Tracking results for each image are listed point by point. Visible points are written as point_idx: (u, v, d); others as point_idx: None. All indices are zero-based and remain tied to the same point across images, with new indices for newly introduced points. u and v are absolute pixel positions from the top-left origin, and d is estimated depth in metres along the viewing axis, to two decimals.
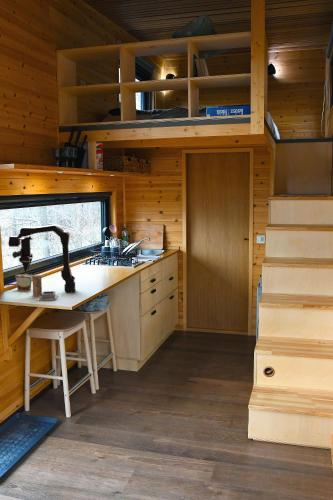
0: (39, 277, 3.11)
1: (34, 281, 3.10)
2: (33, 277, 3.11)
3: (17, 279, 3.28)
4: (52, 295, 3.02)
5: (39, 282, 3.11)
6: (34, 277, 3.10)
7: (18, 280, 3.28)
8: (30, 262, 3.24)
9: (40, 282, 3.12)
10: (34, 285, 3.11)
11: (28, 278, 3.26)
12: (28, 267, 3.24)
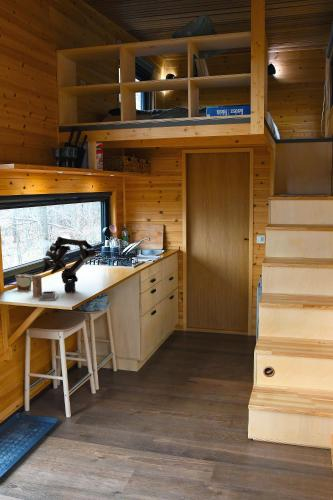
0: (39, 277, 3.11)
1: (34, 281, 3.10)
2: (33, 277, 3.11)
3: (17, 279, 3.28)
4: (52, 295, 3.02)
5: (39, 282, 3.11)
6: (34, 277, 3.10)
7: (18, 280, 3.28)
8: (48, 268, 3.23)
9: (40, 282, 3.12)
10: (34, 285, 3.11)
11: (28, 278, 3.26)
12: (44, 271, 3.21)
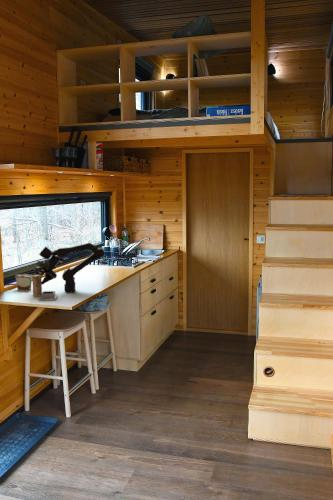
0: (39, 277, 3.11)
1: (34, 281, 3.10)
2: (33, 277, 3.11)
3: (17, 279, 3.28)
4: (52, 295, 3.02)
5: (39, 282, 3.11)
6: (34, 277, 3.10)
7: (18, 280, 3.28)
8: None
9: (40, 282, 3.12)
10: (34, 285, 3.11)
11: (28, 278, 3.26)
12: None
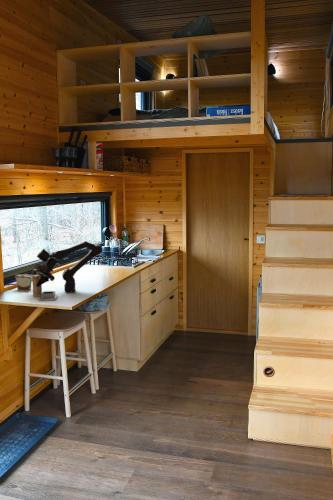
0: (39, 277, 3.11)
1: (34, 281, 3.10)
2: (33, 277, 3.11)
3: (17, 279, 3.28)
4: (52, 295, 3.02)
5: None
6: (34, 277, 3.10)
7: (18, 280, 3.28)
8: None
9: None
10: (34, 285, 3.11)
11: (28, 278, 3.26)
12: None
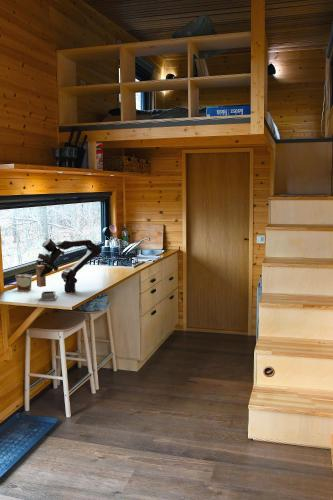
0: (43, 267, 3.07)
1: (38, 271, 3.06)
2: (37, 267, 3.07)
3: (17, 279, 3.28)
4: (52, 295, 3.02)
5: None
6: (38, 267, 3.06)
7: (18, 280, 3.28)
8: None
9: None
10: (37, 276, 3.07)
11: (28, 278, 3.26)
12: None
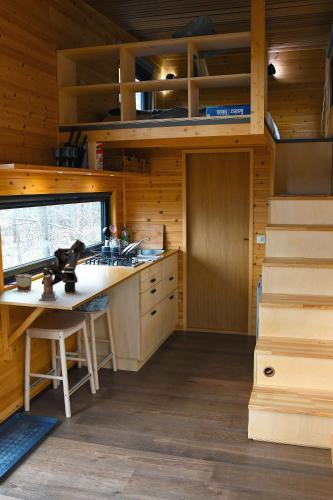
0: (50, 278, 3.03)
1: (45, 282, 3.02)
2: (44, 278, 3.03)
3: (17, 279, 3.28)
4: (52, 295, 3.02)
5: (50, 283, 3.03)
6: (45, 278, 3.02)
7: (18, 280, 3.28)
8: None
9: None
10: (45, 286, 3.03)
11: (28, 278, 3.26)
12: None
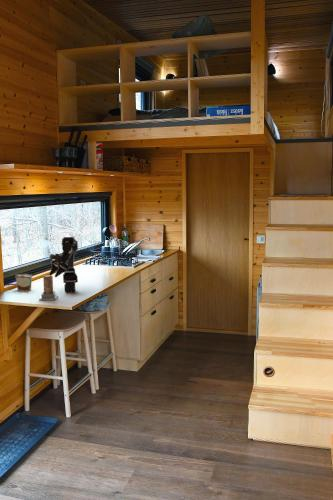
0: (50, 278, 3.03)
1: (45, 282, 3.02)
2: (44, 278, 3.03)
3: (17, 279, 3.28)
4: (52, 295, 3.02)
5: (50, 283, 3.03)
6: (45, 278, 3.02)
7: (18, 280, 3.28)
8: (56, 270, 3.15)
9: (51, 283, 3.04)
10: (45, 286, 3.03)
11: (28, 278, 3.26)
12: None
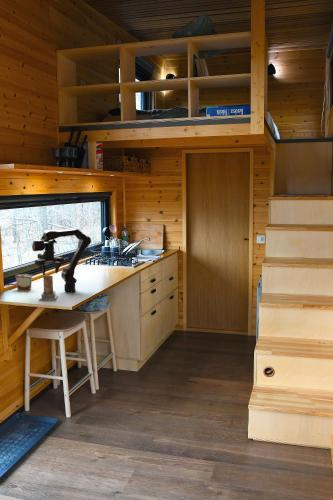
0: (50, 278, 3.03)
1: (45, 282, 3.02)
2: (44, 278, 3.03)
3: (17, 279, 3.28)
4: (52, 295, 3.02)
5: (50, 283, 3.03)
6: (45, 278, 3.02)
7: (18, 280, 3.28)
8: (58, 266, 3.17)
9: (51, 283, 3.04)
10: (45, 286, 3.03)
11: (28, 278, 3.26)
12: (56, 271, 3.18)
